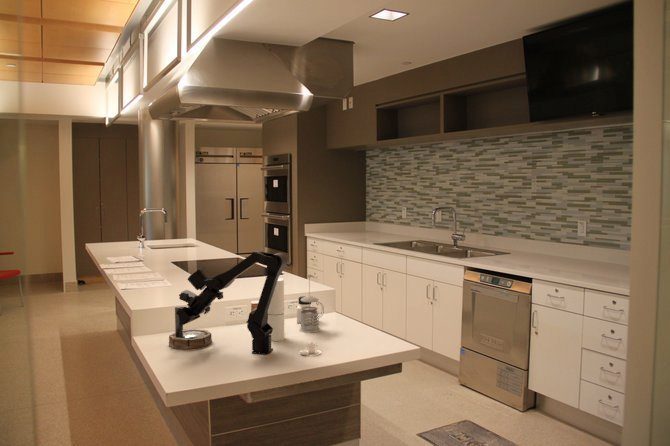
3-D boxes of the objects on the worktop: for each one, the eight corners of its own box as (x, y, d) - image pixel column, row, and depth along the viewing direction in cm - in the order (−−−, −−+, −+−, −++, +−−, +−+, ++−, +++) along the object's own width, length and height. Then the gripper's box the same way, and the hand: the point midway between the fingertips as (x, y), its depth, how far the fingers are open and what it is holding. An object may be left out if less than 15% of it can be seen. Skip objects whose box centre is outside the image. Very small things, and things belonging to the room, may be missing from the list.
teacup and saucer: (301, 357, 201) (301, 347, 201) (296, 351, 209) (296, 341, 208) (323, 355, 203) (323, 345, 203) (318, 349, 211) (318, 339, 211)
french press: (295, 328, 242) (295, 273, 241) (319, 325, 247) (318, 272, 246) (303, 333, 233) (303, 276, 232) (327, 330, 238) (327, 274, 237)
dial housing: (218, 338, 226) (218, 329, 226) (200, 350, 209) (199, 340, 209) (181, 336, 230) (181, 327, 229) (160, 347, 213) (160, 338, 213)
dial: (210, 341, 217) (209, 307, 217) (179, 346, 211) (178, 310, 210) (200, 334, 228) (200, 301, 227) (170, 338, 221) (170, 305, 221)
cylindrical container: (285, 336, 229) (285, 278, 228) (282, 340, 222) (282, 281, 221) (269, 335, 230) (268, 278, 229) (265, 340, 223) (264, 281, 222)
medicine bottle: (312, 323, 252) (311, 298, 251) (296, 323, 252) (296, 298, 251) (312, 319, 259) (312, 295, 258) (298, 319, 259) (298, 295, 258)
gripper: (202, 280, 222) (179, 305, 225) (180, 288, 204) (154, 315, 207) (220, 299, 221) (196, 324, 224) (199, 309, 203) (173, 336, 206)
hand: (180, 324), depth 215 cm, fingers closed
